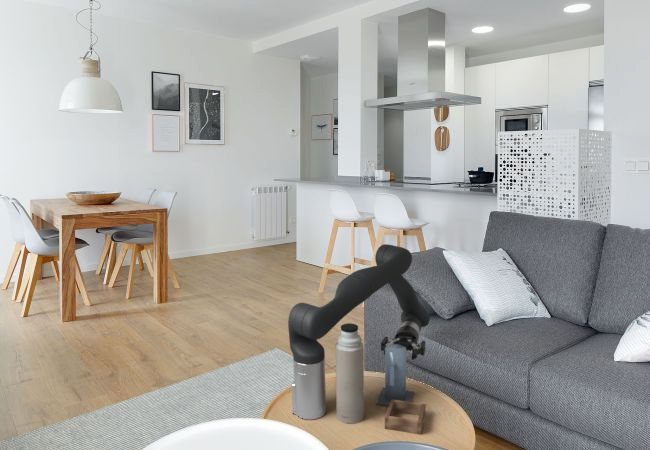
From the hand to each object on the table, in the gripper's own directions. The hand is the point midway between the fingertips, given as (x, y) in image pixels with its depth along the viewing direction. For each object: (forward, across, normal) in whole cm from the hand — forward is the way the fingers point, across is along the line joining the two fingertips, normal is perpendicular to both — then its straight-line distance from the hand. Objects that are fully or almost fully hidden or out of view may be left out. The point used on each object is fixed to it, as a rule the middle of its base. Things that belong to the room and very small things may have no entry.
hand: (399, 355), depth 164 cm
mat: (+6, 0, +12) cm, 13 cm away
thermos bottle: (+19, -11, +12) cm, 25 cm away
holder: (+17, +5, +12) cm, 22 cm away
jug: (+7, 0, +11) cm, 13 cm away
